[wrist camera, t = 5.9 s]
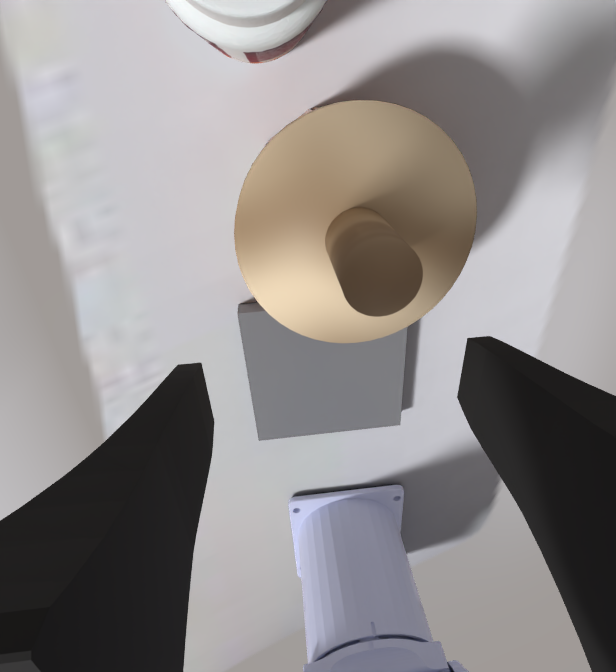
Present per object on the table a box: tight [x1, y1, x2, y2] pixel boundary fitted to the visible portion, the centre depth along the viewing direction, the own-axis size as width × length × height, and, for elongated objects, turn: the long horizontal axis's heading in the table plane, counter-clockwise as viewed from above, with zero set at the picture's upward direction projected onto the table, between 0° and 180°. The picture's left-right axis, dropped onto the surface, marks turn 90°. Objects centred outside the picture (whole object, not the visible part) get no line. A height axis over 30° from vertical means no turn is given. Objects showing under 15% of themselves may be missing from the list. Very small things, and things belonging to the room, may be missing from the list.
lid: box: [234, 100, 477, 343], centre depth 14 cm, size 9×9×5 cm
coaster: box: [238, 303, 408, 441], centre depth 22 cm, size 8×8×1 cm
